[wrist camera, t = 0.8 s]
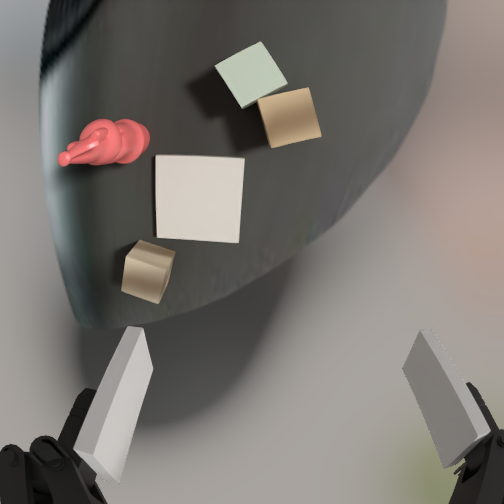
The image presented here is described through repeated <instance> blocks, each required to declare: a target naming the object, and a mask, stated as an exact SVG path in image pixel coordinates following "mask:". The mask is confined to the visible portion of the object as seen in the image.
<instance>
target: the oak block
mask: <svg viewBox="0 0 504 504" xmlns="http://www.w3.org/2000/svg"><path fill="white" fill-rule="evenodd" d="M257 105H258V108H259V112H260V115H261V119H262V122H263V125H264V129H265V132H266V136H267V139H268V143H269V145H270V146H271V148H274V147H278V146H282V145H286V144H290V143H295V142H299V141H303V140H307V139H312V138H316V137H321V132H320V128H319V124H318V120H317V117H316V113H315V109H314V105H313V102H312V98H311V95H310V91H309V88H304V89H299V90H294V91H289V92H285V93H281V94H276V95H272V96H268V97H264V98H260V99H257Z"/></svg>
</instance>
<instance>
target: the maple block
mask: <svg viewBox="0 0 504 504" xmlns="http://www.w3.org/2000/svg"><path fill="white" fill-rule="evenodd" d="M174 256H175V251H172V250H169V249H166V248H163V247H160V246H157V245H154V244H151V243H148V242H145V241H142V240H139V241H138V242H137V244H136V245H135V246H134V247H133V249H132V250H131V251H130V252H129V253H128V255H127V256H126V260H125V266H124V273H123V281H122V289H121V291H123V292H125V293H128V294H131V295H134V296H137V297H139V298H142V299H145V300H148V301H151V302H154V303H157V304H159V302H160V299H161V297H162V295H163V293H164V291H165V288H166V286H167V284H168V281H169V276H170V272H171V268H172V264H173V260H174Z"/></svg>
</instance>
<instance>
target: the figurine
mask: <svg viewBox="0 0 504 504" xmlns="http://www.w3.org/2000/svg"><path fill="white" fill-rule="evenodd" d="M149 141H150V136H149V132H148V130H147V129H146V127H145V126H143V125H142V124H139V123H136V122H135V121H132V120H129V119H122V120H119V121H116V122H115V123H113V122H112V121H110V120H108V119H99V120H95V121H93V122H91V123H90V124H88V125H87V126H86V127H85V128H84V130H83V131H82V133H81V135H80V140H79V141H75V142H72V143H70V144H69V145H68V146H67V151H68V152H67V151H64V152H62V153H60V154H59V156H58V160H57V161H58V163H59V165H61V166H67V165H68V164H86V163H89V164H91V165H103V164H111V163H114V162H117V163H121V164H126V163H130V162H132V161H134V160H135V159H137V158H138V157H139V155H140V154H141V153H143V152H144V151H145V150H146V149H147V147H148V145H149Z"/></svg>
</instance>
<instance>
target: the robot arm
mask: <svg viewBox="0 0 504 504" xmlns="http://www.w3.org/2000/svg"><path fill="white" fill-rule="evenodd" d="M402 369H403V371H404V373H405V375H406V378H407V380H408V382H409V384H410V386H411V389H412V391H413V393H414V395H415V397H416V400H417V402H418V405H419V407H420V409H421V411H422V414H423V416H424V419H425V421H426V424H427V426H428V428H429V431H430V433H431V436H432V438H433V441H434V444H435V446H436V449H437V451H438V454H439V457H440V459H441V462H442V465H443V468H444V469H445V468H448V467H451V466H453V465H456V464H457V463H459V462H460V461H461V460H462V459H463V458H464V459H465V461H466V462H465V463H463V464H462V465H461V466H460V467H459V468H458V469H457V470H456V471H455V472H454V474H457V473H458V472H459V471H460V470H461V472H460V473H459V474H458V476H459V477H458V480H457V483H456V486H455V489H454V492H453V494H452V496H451V499H450V501H449V504H504V430H503V429H501V430H499V428H498V426H497V425H496V423H495V421H494V419H493V417H492V415H491V413H490V411H489V409H488V408H487V406H486V405H485V403H484V401H483V399H482V398H481V395H480V393H479V392H478V390H477V389H476V388H475V387H474V386H473V385H472V384H471V383H470V382H468V383H465V382H464V380H463V378H462V377H461V375H460V373H459V371H458V370H457V368H456V366H455V365H454V363H453V362H452V360H451V358H450V357H449V355H448V354H447V352H446V350H445V349H444V347H443V346H442V344H441V342H440V341H439V339H438V338H437V336H436V335H435V333H434V332H433V330H432V329H423V330H419V333H418V335H417V338H416V340H415V342H414V344H413V346H412V349H411V351H410V353H409V355H408V357H407V359H406V362H405V364H404V366H403V368H402ZM152 371H153V366H152V362H151V359H150V355H149V351H148V347H147V343H146V339H145V334H144V331H143V328H139V327H130V326H128V327H127V329H126V331H125V333H124V335H123V337H122V339H121V341H120V343H119V345H118V347H117V349H116V351H115V353H114V355H113V358H112V359H111V362H110V364H109V366H108V368H107V370H106V373H105V374H104V377H103V379H102V381H101V384H100V386H99V388H98V390H93V389H89V388H85V389H84V390H83V391H82V392H81V393H80V394H79V395H78V396H77V398H76V401H75V403H74V405H73V408H72V409H71V411H70V415H69V416H68V418H67V420H66V422H65V424H64V427H63V429H62V431H61V433H60V436H59V438H58V441H57V440H55V439H54V438H53V437H50V436H40V437H38V438H36V439H35V440H34V441H33V442H32V443H31V446H30V452H24V451H23V450H22V449H21V448H19V447H18V446H17V445H13V444H10V445H6V446H5V447H3V448H2V450H1V451H0V502H1V504H107V502H106V500H105V498H104V496H103V494H102V492H101V491H100V489H99V487H98V485H97V483H96V482H95V478H96V475H98V476H99V477H100V478H101V479H103V480H106V481H110V482H114V483H117V484H120V480H121V475H122V472H123V468H124V464H125V461H126V457H127V453H128V450H129V446H130V443H131V439H132V436H133V432H134V429H135V425H136V422H137V418H138V415H139V412H140V409H141V406H142V402H143V399H144V396H145V392H146V390H147V386H148V383H149V380H150V377H151V374H152Z"/></svg>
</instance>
